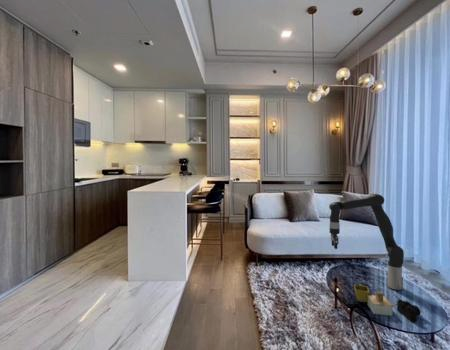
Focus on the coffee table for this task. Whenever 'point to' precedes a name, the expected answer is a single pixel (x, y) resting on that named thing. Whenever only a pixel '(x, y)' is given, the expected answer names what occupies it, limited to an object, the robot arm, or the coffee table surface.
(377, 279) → the coffee table surface
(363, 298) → the flower pot
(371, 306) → the pale green open box
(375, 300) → the lid
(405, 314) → the film camera
